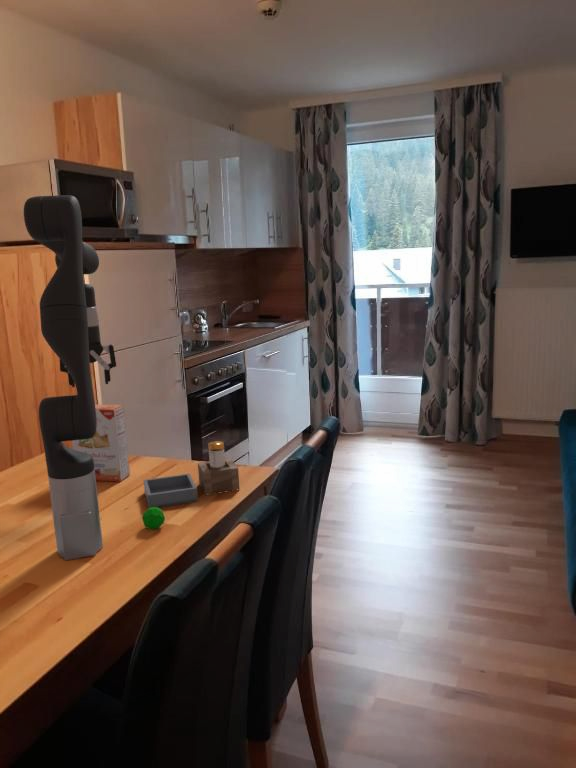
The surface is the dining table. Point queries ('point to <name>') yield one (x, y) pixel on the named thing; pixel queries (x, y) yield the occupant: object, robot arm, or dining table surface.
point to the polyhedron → (153, 518)
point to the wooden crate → (218, 477)
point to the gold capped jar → (216, 455)
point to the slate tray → (170, 490)
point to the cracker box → (107, 444)
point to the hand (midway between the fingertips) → (90, 385)
